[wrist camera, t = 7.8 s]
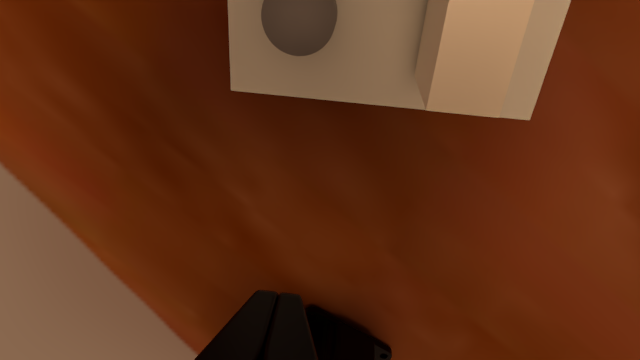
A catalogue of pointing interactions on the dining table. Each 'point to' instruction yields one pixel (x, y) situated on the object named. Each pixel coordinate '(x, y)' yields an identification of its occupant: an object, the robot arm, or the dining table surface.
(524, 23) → the slider
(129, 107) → the dining table surface
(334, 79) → the panel
